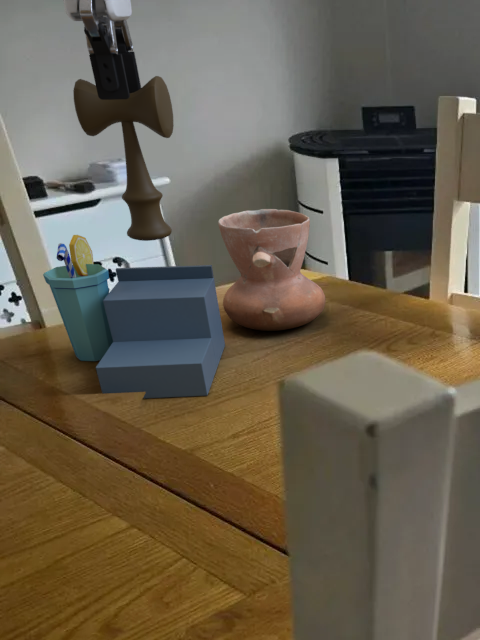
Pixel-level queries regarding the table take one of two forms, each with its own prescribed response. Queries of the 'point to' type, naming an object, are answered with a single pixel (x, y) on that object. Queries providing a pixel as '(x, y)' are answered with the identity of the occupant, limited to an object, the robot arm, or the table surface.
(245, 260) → the ceramic jug
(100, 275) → the cup
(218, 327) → the step rack
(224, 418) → the table surface
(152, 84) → the kendama
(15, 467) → the table surface
